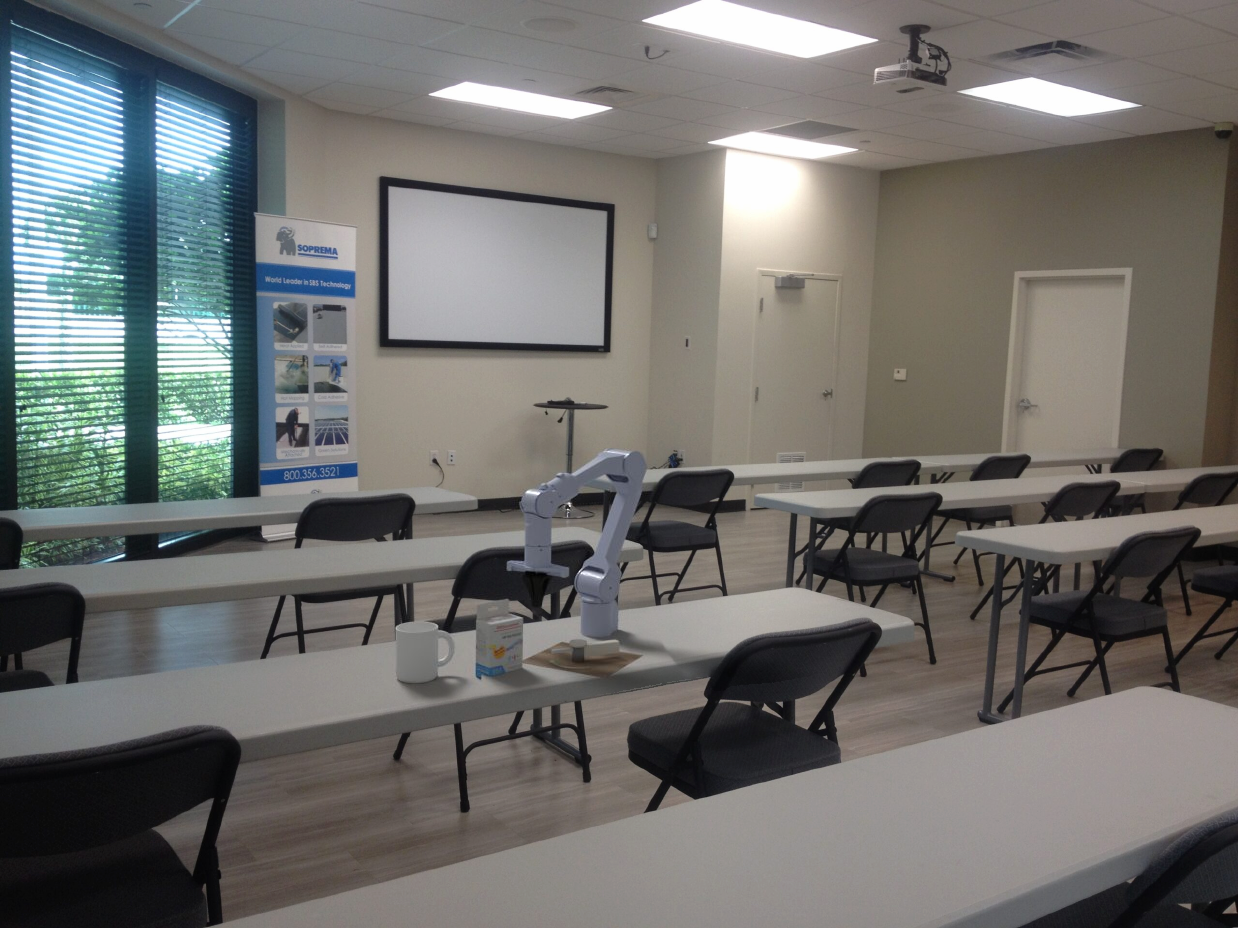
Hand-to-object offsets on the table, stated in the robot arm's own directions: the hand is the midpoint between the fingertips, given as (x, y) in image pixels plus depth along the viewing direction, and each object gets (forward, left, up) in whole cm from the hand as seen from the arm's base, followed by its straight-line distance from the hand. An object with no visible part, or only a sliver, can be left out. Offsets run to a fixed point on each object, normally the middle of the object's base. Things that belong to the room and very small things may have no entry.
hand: (537, 606), depth 215 cm
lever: (+4, +14, -9) cm, 17 cm away
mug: (+26, -10, -10) cm, 30 cm away
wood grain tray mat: (+3, +13, -10) cm, 17 cm away
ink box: (+18, +2, -10) cm, 21 cm away
